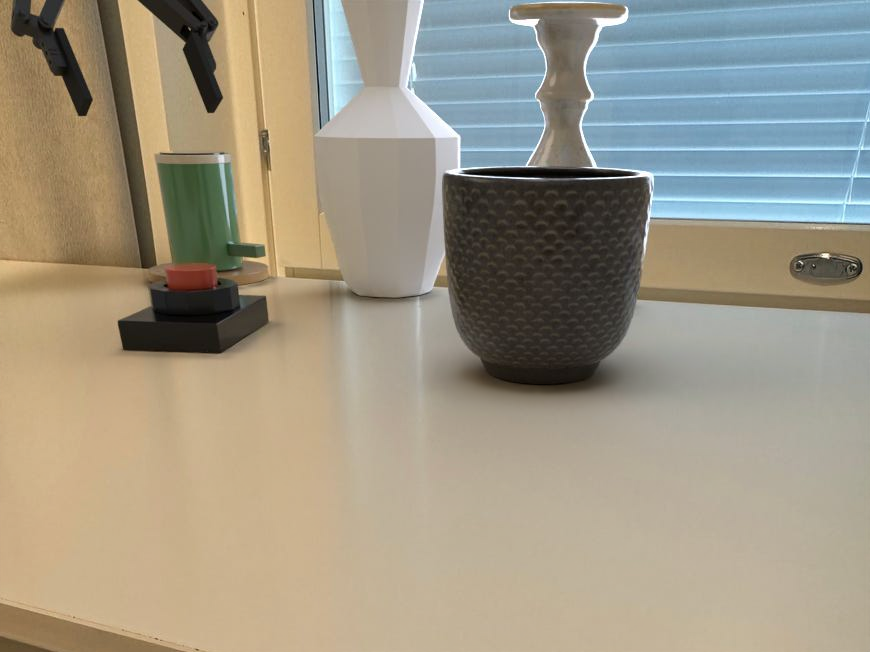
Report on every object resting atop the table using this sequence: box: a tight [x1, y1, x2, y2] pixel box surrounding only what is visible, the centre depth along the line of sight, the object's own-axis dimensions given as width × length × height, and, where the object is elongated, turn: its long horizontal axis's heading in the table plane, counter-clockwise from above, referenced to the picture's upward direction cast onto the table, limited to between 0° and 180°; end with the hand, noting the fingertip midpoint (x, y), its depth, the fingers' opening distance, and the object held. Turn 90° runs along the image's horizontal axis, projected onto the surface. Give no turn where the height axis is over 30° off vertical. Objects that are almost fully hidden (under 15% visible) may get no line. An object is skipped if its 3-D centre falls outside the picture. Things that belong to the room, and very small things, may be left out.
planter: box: [442, 165, 655, 385], centre depth 61 cm, size 14×14×13 cm
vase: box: [313, 0, 461, 298], centre depth 86 cm, size 14×14×25 cm
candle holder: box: [508, 1, 629, 168], centre depth 82 cm, size 11×11×24 cm
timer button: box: [165, 263, 218, 289], centre depth 72 cm, size 4×4×2 cm
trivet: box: [147, 259, 270, 286], centre depth 99 cm, size 13×13×1 cm
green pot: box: [154, 150, 267, 271], centre depth 95 cm, size 12×8×11 cm
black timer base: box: [117, 278, 270, 354], centre depth 73 cm, size 8×12×4 cm, turn 173°
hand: (153, 107), depth 87 cm, fingers open, 13 cm apart
